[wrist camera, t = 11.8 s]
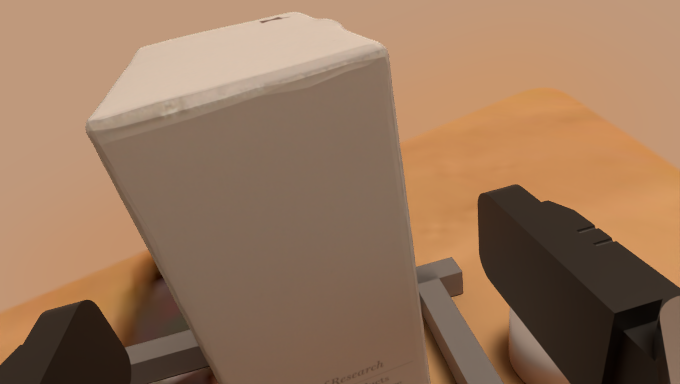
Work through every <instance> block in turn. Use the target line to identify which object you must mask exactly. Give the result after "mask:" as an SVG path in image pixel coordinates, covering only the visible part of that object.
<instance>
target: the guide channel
mask: <svg viewBox="0 0 680 384" xmlns="http://www.w3.org/2000/svg"><path fill="white" fill-rule="evenodd" d="M416 274H417V281H418V289H419V296H420V304H421V312H422V314H423V316H424V318H425V320H426V322H427V324H428V326H429V328H430V330H431V332H432V334H433V336H434V338H435V340H436V342H437V344H438V346H439V348H440V350H441V352H442V354H443V356H444V358H445V360H446V362H447V364H448V366H449V368H450V370H451V372H452V374H453V376H454V378H455V380H456V382H457V384H504V383H503V382H502V380H501V378H500V377H499V375H498V373H497V372H496V370H495V369H494V367H493V365H492V364H491V362H490V360H489V359H488V357H487V356H486V354H485V352H484V351H483V349H482V347H481V346H480V344H479V342H478V341H477V339H476V338H475V336H474V334H473V333H472V331H471V329H470V328H469V326H468V325H467V323H466V321H465V320H464V318H463V316H462V315H461V313H460V312H459V310H458V308H457V307H456V305H455V303H454V302H453V300H452V299H451V297H452V296H455V295H459V294H462V293H463V278H462V271H461V269H460V268H459V266H458V265H457V264H456V262H455V261H454V259H453V258H452V257H450V258H447V259H443V260H440V261H436V262H432V263H429V264H425V265H422V266H418V267H416ZM125 349H126V351H127V353H128V355H129V359H130V363H131V372H132V373H131V383H130V384H147V383H150V382H154V381H157V380H161V379H164V378H168V377H171V376H175V375H178V374H182V373H185V372H189V371H192V370H196V369H199V368H203V367H206V366H209V364H208V362H207V360H206V358H205V357H204V355H203V353H202V351H201V349H200V347H199V345H198V343H197V341H196V339H195V337H194V335H193V333H192V331H191V330H187V331H184V332H180V333H177V334H173V335H169V336H166V337H162V338H159V339H155V340H151V341H148V342H144V343H141V344H137V345H133V346H130V347H126V348H125ZM509 359H510V362H511V365H512V367H513V369H514V371H515V372H516V374H517V375H518V376H519V377H520V378H521V379H522V380H523V381H524V382H525V383H526V384H570V383H569V381H568V380H567V379H566V377H565V376H564V375H563V374H562V372H561V371H560V370H559V368H558V367H557V366H556V365H555V363H554V362H553V361H552V360H551V358H550V357H549V356H548V354H547V353H546V352H545V351H544V349H543V348H542V347H541V345H540V344H539V343H538V342H537V340H536V339H535V338H534V337H533V335H532V334H531V333H530V331H529V330H528V329H527V328H526V326H525V325H524V324H523V322H522V321H521V320H520V319H519V317H518V316H517V315H516V313H515V312H514V311H513V310H512V308H511V307H510V320H509Z"/></svg>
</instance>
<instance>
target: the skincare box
mask: <svg viewBox="0 0 680 384" xmlns="http://www.w3.org/2000/svg"><path fill="white" fill-rule="evenodd" d="M86 133H87V135H88V137H89V138H90V140H91V141H92V143H93V145H94V147H95V149H96V151H97V153H98V155H99V157H100V159H101V161H102V163H103V165H104V167H105V168H106V170H107V172H108V174H109V176H110V178H111V180H112V182H113V183H114V185H115V187H116V189H117V191H118V193H119V195H120V197H121V199H122V201H123V203H124V205H125V206H126V208H127V210H128V212H129V214H130V216H131V218H132V219H133V222H134V223H135V225H136V227H137V229H138V231H139V233H140V235H141V237H142V238H143V240H144V242H145V244H146V246H147V248H148V250H149V252H150V253H151V255H152V257H153V259H154V261H155V263H156V265H157V267H158V269H159V270H160V272H161V274H162V276H163V278H164V280H165V282H166V284H167V286H168V288H169V290H170V292H171V294H172V296H173V298H174V300H175V302H176V304H177V305H178V307H179V309H180V311H181V313H182V315H183V317H184V318H185V320H186V322H187V324H188V325H189V327H190V329H191V331H192V333H193V335H194V337H195V339H196V341H197V343H198V345H199V347H200V349H201V351H202V353H203V355H204V357H205V358H206V360H207V362H208V364H209V366H210V368H211V370H212V372H213V374H214V376H215V378H216V379H217V381H218V383H219V384H431V383H430V376H429V368H428V360H427V352H426V344H425V335H424V326H423V319H422V312H421V304H420V296H419V289H418V281H417V274H416V265H415V256H414V248H413V240H412V233H411V226H410V217H409V209H408V203H407V196H406V187H405V178H404V170H403V163H402V156H401V149H400V143H399V134H398V126H397V119H396V111H395V103H394V97H393V89H392V80H391V72H390V62H389V54H388V51H387V49H386V47H385V46H383V45H382V44H381V43H379V42H377V41H374V40H371V39H368V38H366V37H363V36H360V35H357V34H355V33H352V32H349V31H347V30H346V29H345V28H343V26H342V25H341V24H340V23H339V22H337V21H333V20H330V19H315V18H312V17H310V16H308V15H305V14H303V13H299V12H290V13H285V14H281V15H276V16H272V17H268V18H263V19H259V20H254V21H250V22H246V23H241V24H236V25H232V26H227V27H223V28H218V29H214V30H209V31H205V32H200V33H196V34H192V35H187V36H184V37H180V38H175V39H171V40H167V41H163V42H160V43H156V44H152V45H149V46H145V47H142V48H140V49H138V50H137V52H136V54H135V55H134V57H133V59H132V61H131V62H130V64H129V65H128V67H127V68H126V69H125V71H124V72H123V73H122V75H121V76H120V77H119V78H118V80H117V81H116V82H115V84H114V85H113V87H112V88H111V90H110V91H109V92H108V94H107V95H106V97H105V98H104V99H103V101H102V102H101V103H100V105H99V106H98V107H97V109H96V111H95V112H94V113H93V114H92V115H91V116H90V117H89V119H88V120H87V123H86Z"/></svg>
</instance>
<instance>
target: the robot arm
mask: <svg viewBox="0 0 680 384" xmlns="http://www.w3.org/2000/svg"><path fill="white" fill-rule="evenodd" d="M478 231H479V255H480V260H481V263H482V266H483V269H484V271H485V273H486V275H487V277H488V279H489V280H490V281H491V283H492V284H493V285H494V287H495V288H496V289H497V290H498V292H499V293H500V294H501V296H502V297H503V298H504V299H505V301H506V302H507V303H508V305H509V306H510V307H511V308H512V310H513V311H514V312H515V313H516V315H517V316H518V317H519V319H520V320H521V321H522V322H523V324H524V325H525V326H526V328H527V329H528V330H529V331H530V333H531V334H532V335H533V337H534V338H535V339H536V340H537V342H538V343H539V344H540V345H541V347H542V348H543V349H544V351H545V352H546V353H547V354H548V356H549V357H550V358H551V360H552V361H553V362H554V363H555V365H556V366H557V367H558V368H559V370H560V371H561V372H562V374H563V375H564V376H565V377H566V379H567V380H568V381H569V383H570V384H680V288H679V287H678V286H676V285H675V284H674V283H672V282H671V281H670V280H668V279H667V278H665V277H664V276H663V275H661V274H660V273H659V272H657V271H656V270H655V269H653V268H652V267H651V266H649V265H648V264H647V263H645V262H644V261H642V260H641V259H640V258H638V257H637V256H636V255H634V254H633V253H632V252H630V251H629V250H628V249H626V248H625V247H623V246H622V245H621V244H619V243H618V242H617V241H615V242H613V241H612V238H611V237H610V236H609V235H607V234H606V233H604V232H603V231H602V230H600V229H599V228H598V229H596V228H595V225H594V224H592V223H591V222H590V221H588V220H587V219H585V218H584V217H583V216H581V215H580V214H579V213H577V212H576V211H575V210H572V209H570V208H567V207H564V206H562V205H559V204H556V203H554V202H551V201H544V202H540V201H539V200H538V199H536V198H535V197H534V196H533V195H531V194H530V193H529V192H528V191H526V190H525V189H524V188H523V187H521V186H520V185H511V186H508V187H504V188H500V189H497V190H493V191H489V192H485V193H482V194H480V196H479V198H478ZM131 373H132V372H131V363H130V359H129V355H128V353H127V351H126V349H125V348H124V346H123V345H122V343H121V341H120V340H119V338H118V337H117V335H116V334H115V332H114V331H113V329H112V328H111V326H110V324H109V323H108V321H107V320H106V318H105V317H104V315H103V314H102V312H101V310H100V309H99V307H98V306H97V305H96V304H95V303H94V302H93V301H90V300H84V301H80V302H77V303H73V304H69V305H66V306H62V307H58V308H55V309H51V310H47V311H45V312H43V313H42V314H41V315H40V317H39V318H38V320H37V322H36V323H35V325H34V327H33V328H32V330H31V332H30V333H29V335H28V337H27V338H26V340H25V342H24V344H23V345H20V346H19V347H18V348H17V349H16V350H15V351H14V352H13V353H12V354H11V355H10V356H9V357H8V358H7V359H6V360H5V361H4V362H3V363H2V364H1V365H0V384H130V383H131Z"/></svg>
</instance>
